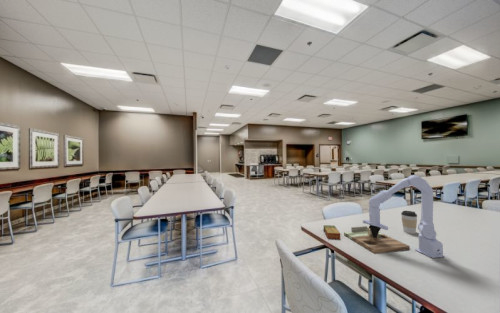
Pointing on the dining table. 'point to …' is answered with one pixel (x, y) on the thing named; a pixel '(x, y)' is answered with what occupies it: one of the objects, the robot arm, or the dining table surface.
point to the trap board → (375, 241)
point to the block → (371, 233)
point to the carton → (331, 232)
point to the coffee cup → (409, 221)
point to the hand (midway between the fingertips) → (375, 237)
